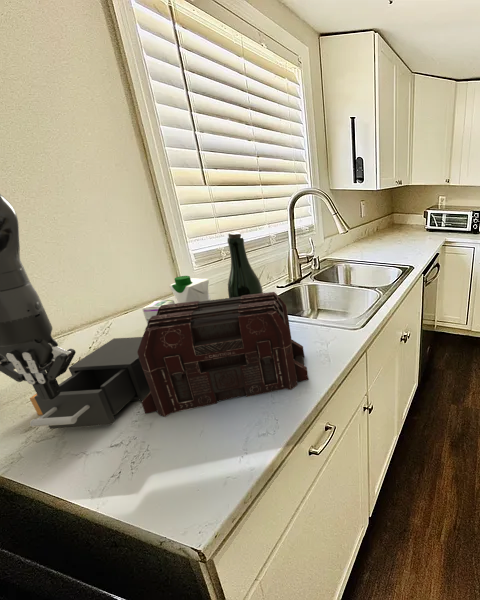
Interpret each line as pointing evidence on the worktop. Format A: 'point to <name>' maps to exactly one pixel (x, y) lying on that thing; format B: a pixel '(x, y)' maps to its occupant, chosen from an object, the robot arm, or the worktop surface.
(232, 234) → the beer bottle
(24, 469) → the worktop surface
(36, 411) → the orange block
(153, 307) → the syrup box
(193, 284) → the milk carton
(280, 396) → the worktop surface
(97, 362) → the dark grey box shell
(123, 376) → the drawer
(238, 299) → the crate
